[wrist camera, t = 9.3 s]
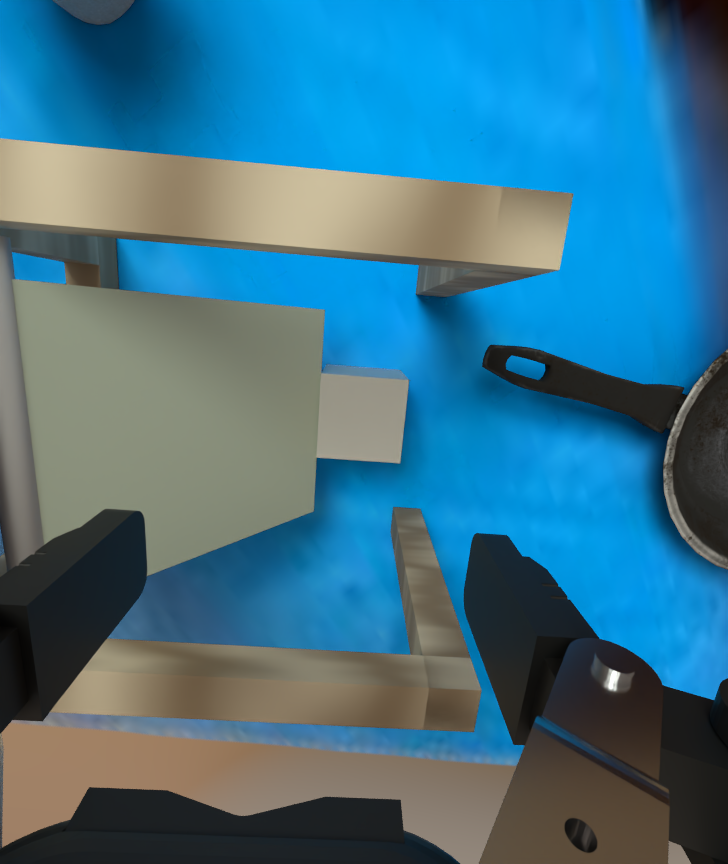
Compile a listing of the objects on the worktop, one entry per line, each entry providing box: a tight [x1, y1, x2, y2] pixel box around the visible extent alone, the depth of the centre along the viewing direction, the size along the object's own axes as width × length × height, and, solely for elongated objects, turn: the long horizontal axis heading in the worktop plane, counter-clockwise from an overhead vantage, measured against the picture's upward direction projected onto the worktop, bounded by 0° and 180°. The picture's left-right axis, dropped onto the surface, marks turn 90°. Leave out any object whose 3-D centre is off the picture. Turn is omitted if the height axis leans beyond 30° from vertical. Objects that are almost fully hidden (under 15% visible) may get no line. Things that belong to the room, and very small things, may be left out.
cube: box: [316, 364, 409, 463], centre depth 27 cm, size 5×5×5 cm
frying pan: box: [482, 345, 728, 570], centre depth 29 cm, size 19×32×4 cm, turn 74°
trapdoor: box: [0, 236, 325, 576], centre depth 19 cm, size 19×14×5 cm
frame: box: [0, 139, 573, 732], centre depth 22 cm, size 23×19×16 cm
